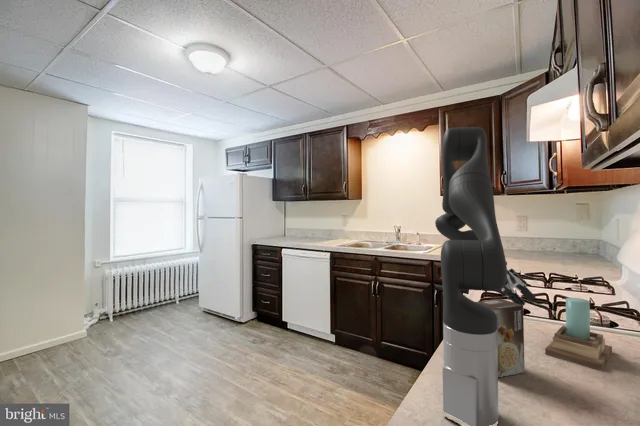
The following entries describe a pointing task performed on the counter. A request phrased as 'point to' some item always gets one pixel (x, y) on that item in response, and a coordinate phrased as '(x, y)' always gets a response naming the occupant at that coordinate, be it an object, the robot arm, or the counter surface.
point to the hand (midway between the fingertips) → (528, 302)
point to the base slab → (579, 357)
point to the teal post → (578, 318)
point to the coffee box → (508, 335)
